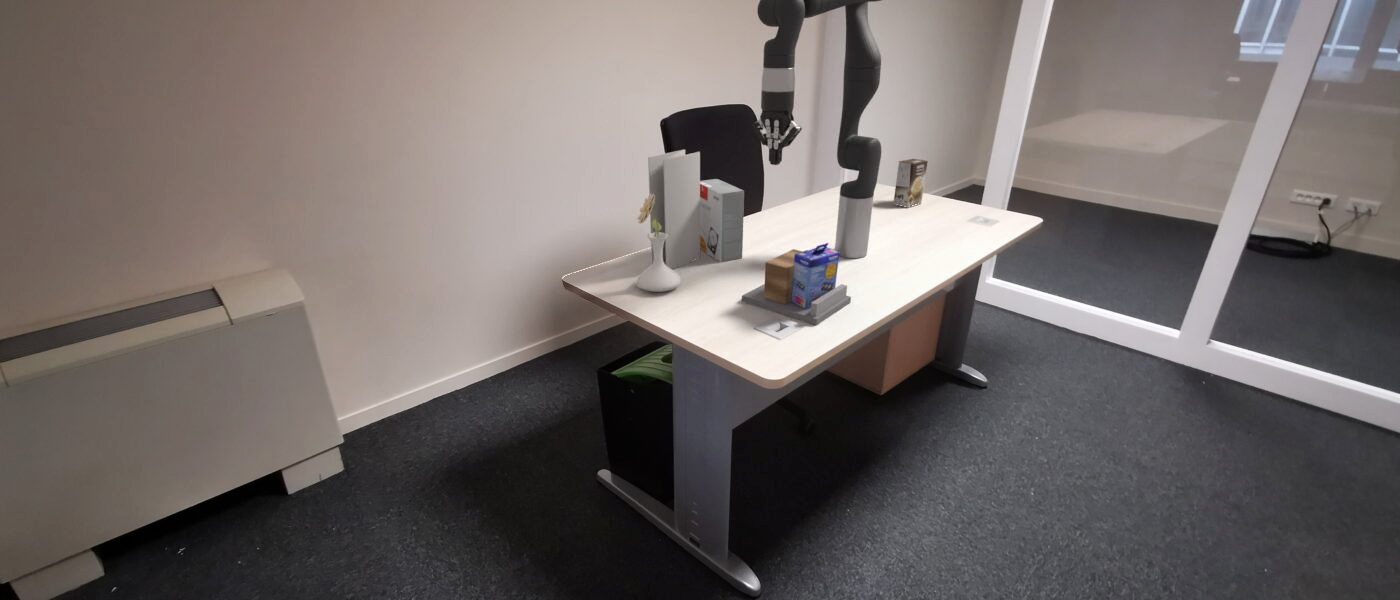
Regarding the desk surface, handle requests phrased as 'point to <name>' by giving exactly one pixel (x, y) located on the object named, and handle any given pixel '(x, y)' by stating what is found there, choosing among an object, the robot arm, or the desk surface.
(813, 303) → the shelf board
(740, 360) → the desk surface
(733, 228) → the hard drive box
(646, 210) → the flower in vase
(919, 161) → the coffee box
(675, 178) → the brochure
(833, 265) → the ink cartridge box
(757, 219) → the desk surface
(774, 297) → the cardboard box
